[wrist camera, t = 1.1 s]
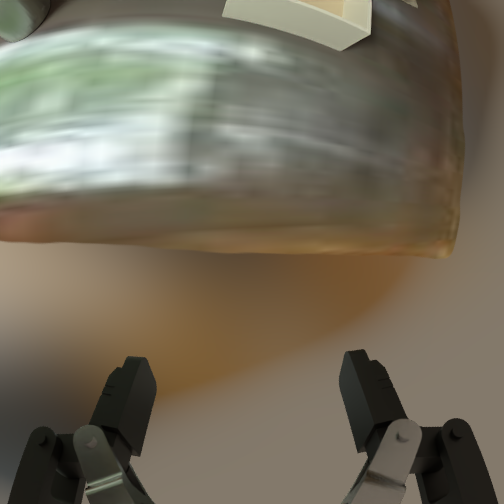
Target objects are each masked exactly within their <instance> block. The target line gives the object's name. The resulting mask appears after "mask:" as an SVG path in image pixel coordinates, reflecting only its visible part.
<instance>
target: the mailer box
mask: <svg viewBox="0 0 504 504" xmlns="http://www.w3.org/2000/svg"><path fill="white" fill-rule="evenodd" d="M371 9H372V0H227V1H226V4H225V7H224V10H223V14H222V17H228V18H233V19H238V20H243V21H247V22H252V23H256V24H260V25H264V26H268V27H271V28H275V29H278V30H282V31H285V32H288V33H292V34H295V35H298V36H301V37H304V38H307V39H310V40H312V41H315V42H318V43H321V44H323V45H326V46H328V47H331V48H333V49H336V50H338V51H342V50H344V49H346V48H347V47H349V46H351V45H352V44H354V43H356V42H358V41H360V40H361V39H363V38H365V37H367V36H369V35H370V34H371Z"/></svg>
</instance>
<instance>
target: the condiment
mask: <svg viewBox="0 0 504 504" xmlns="http://www.w3.org/2000/svg"><path fill="white" fill-rule="evenodd" d="M402 1H404V2H406V3H407V4H410V5H412V6H414V7H416V8H418V6H417V3H416V0H402Z"/></svg>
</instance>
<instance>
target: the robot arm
mask: <svg viewBox="0 0 504 504" xmlns="http://www.w3.org/2000/svg"><path fill="white" fill-rule="evenodd" d="M49 8H50V0H0V37H1V38H2V39H4V40H6V41H7V42H17V41H19V40H22V39H24V38H25V37H27V36H28V35H30V34H31V33H32V32H33V31H34V30H35V29H36V28H37V27H38V26H39V25H40V24H41V23H42V22H43V20H44V19H45V17H46V15H47V13H48V11H49ZM389 378H390V377H389V375H388V373H387V371H386V369H385V367H383V365H381V364H380V363H379V362H378V361H377V360H372V361H370V360H369V358H368V356H367V353H366V352H365V350H364V349H361V350H355V351H347V352H345V355H344V359H343V363H342V367H341V371H340V376H339V387H340V391H341V394H342V398H343V401H344V405H345V408H346V412H347V415H348V419H349V423H350V426H351V430H352V434H353V437H354V441H355V445H356V449H357V452H358V453H361V452H367V456H368V459H367V460H366V462H365V464H364V466H363V468H362V470H361V472H360V473H359V475H358V477H357V479H356V481H355V482H354V484H353V486H352V487H351V489H350V491H349V493H348V494H347V496H346V497H345V498H344V500H343V501H342V503H341V504H400V503H401V501H402V499H403V497H404V494H405V491H406V486H405V482H406V479H407V477H408V474H411V473H413V474H414V473H415V475H416V479H417V483H418V487H419V491H420V496H421V500H422V504H498V501H497V498H496V495H495V491H494V488H493V485H492V482H491V479H490V476H489V473H488V470H487V467H486V465H485V462H484V459H483V457H482V454H481V451H480V449H479V446H478V444H477V441H476V439H475V437H474V435H473V432H472V430H471V427H470V426H469V424H468V423H467V422H466V421H464V420H462V419H458V418H454V419H451V420H448V421H447V422H446V423H445V424H444V425H443V427H421V426H419V425H418V424H417V423H416V422H414V421H412V420H409V419H408V418H407V416H406V414H405V411H404V409H403V407H402V405H401V402H400V400H399V397H398V395H397V393H396V391H395V388H393V384H392V382H391V380H390V379H389ZM156 387H157V386H156V381H155V378H154V376H153V373H152V371H151V369H150V366H149V363H148V361H147V359H146V358H145V357H133V356H128V357H127V358H126V360H125V363H124V365H123V367H122V368H120V367H117V368H116V369H115V370H114V371H113V372H112V373H111V374H110V375H109V377H108V379H107V382H106V384H105V387H104V389H103V391H102V395H101V396H100V398H99V401H98V403H97V405H96V408H95V410H94V413H93V415H92V418H91V420H90V423H89V424H88V425H86V426H83V427H81V428H79V429H78V430H77V431H76V432H75V434H55V433H54V432H53V430H51V429H50V428H48V427H38V428H37V429H35V430H34V431H33V432H32V433H31V435H30V437H29V440H28V442H27V445H26V448H25V450H24V453H23V456H22V459H21V461H20V465H19V467H18V470H17V473H16V477H15V480H14V483H13V486H12V490H11V493H10V497H9V501H8V504H81V502H82V498H83V493H84V488H85V483H86V481H87V484H88V488H86V489H85V492H86V496H87V498H88V500H89V503H90V504H155V503H154V502H153V501H152V499H151V498H150V497H149V496H148V494H147V492H146V490H145V489H144V487H143V485H142V483H141V482H140V480H139V478H138V476H137V475H136V473H135V471H134V469H133V467H132V466H131V464H130V462H129V461H130V457H131V455H133V456H139V457H140V455H141V451H142V447H143V443H144V438H145V435H146V430H147V427H148V423H149V419H150V415H151V411H152V407H153V403H154V400H155V396H156V390H157V389H156Z"/></svg>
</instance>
